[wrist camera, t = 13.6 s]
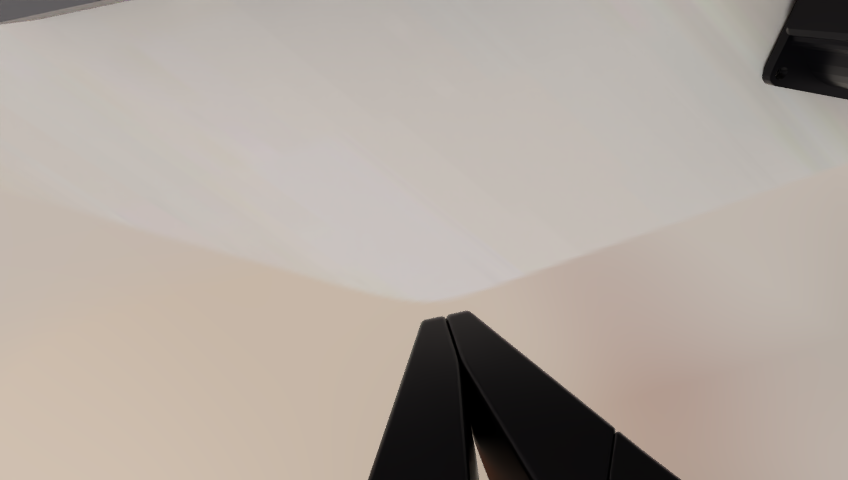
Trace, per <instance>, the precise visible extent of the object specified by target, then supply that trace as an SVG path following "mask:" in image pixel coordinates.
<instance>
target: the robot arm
mask: <svg viewBox="0 0 848 480" xmlns="http://www.w3.org/2000/svg"><path fill="white" fill-rule="evenodd" d="M778 69H780V70H779V73H778V75H777V76H776V72H777V71H778ZM762 79H763V81H764V83H766V84H769V85H774V86H779V87H784V88H789V89H795V90H800V91H805V92H811V93H816V94H821V95H827V96H832V97H837V98H842V99H848V0H797V2H796V4H795V6H794V8H793V10H792V12H791V14H790V16H789V18H788V21H787V23H786V25H785V27H784V29H783V31H782V33H781V35H780V37H779V39H778V41H777V44H776V46H775V48H774V50H773V52H772V54H771V56H770V58H769V60H768V62H767V64H766V67H765V69H764V71H763V74H762ZM472 434H473V435H472ZM473 437H474V440H473ZM474 441H475V444H476V446H477V449H478V452H479V455H480V458H481V460H482V463H483V466H484V468H485V471H486V473H487V476H488V478H489V480H681V479H679V478H678V477H677V476H675V475H674V474H673V473H671V472H670V471H669V470H668V469H666V468H665V467H664V466H662V465H661V464H659V463H658V462H657V461H656V460H654V459H653V458H652V457H651V456H649V455H648V454H647V453H645V452H644V451H642V450H641V449H640V448H639V447H638V446H636V445H635V444H634V443H633V442H631V441H630V440H629V439H628V438H626V437H625V436H624V435H623V434H622V433H620V432H616V433H615V428H614V427H613V426H611V425H610V424H609V423H608V422H606V421H605V420H604V419H603V418H602V417H600V416H599V415H598V414H596V413H595V412H594V411H593V410H592V409H590V408H589V407H588V406H586V405H585V404H584V403H583V402H582V401H580V400H579V399H578V398H577V397H575V396H574V395H573V394H572V393H571V392H569V391H568V390H567V389H565V388H564V387H563V386H562V385H560V384H559V383H558V382H557V381H556V380H554V379H553V378H552V377H551V376H549V375H548V374H547V373H545V372H544V371H543V370H542V369H541V368H539V367H538V366H537V365H536V364H534V363H533V362H532V361H531V360H530V359H528V358H527V357H526V356H525V355H523V354H522V353H521V352H520V351H518V350H517V349H516V348H514V347H513V346H512V345H511V344H510V343H508V342H507V341H506V340H505V339H503V338H502V337H501V336H500V335H499V334H497V333H496V332H495V331H493V330H492V329H491V328H490V327H489V326H487V325H486V324H485V323H484V322H482V321H481V320H480V319H479V318H477V317H476V316H475V315H474V314H472V313H471V312H469V311H463V312H459V313H454V314H450V315H448V316H447V318H446V319H445V317H436V318H432V319H427V320H424V321H423V322H422V323H421V325H420V328H419V331H418V334H417V337H416V340H415V343H414V346H413V349H412V352H411V355H410V358H409V360H408V363H407V366H406V369H405V372H404V375H403V378H402V381H401V384H400V387H399V390H398V393H397V396H396V399H395V402H394V405H393V408H392V411H391V414H390V417H389V420H388V423H387V425H386V429H385V431H384V434H383V437H382V440H381V443H380V446H379V449H378V452H377V455H376V458H375V461H374V464H373V467H372V470H371V473H370V476H369V479H368V480H479V475H478V467H477V460H476V453H475V446H474Z"/></svg>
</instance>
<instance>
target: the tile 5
mask: <svg viewBox="0 0 848 480" xmlns="http://www.w3.org/2000/svg"><path fill="white" fill-rule="evenodd" d="M124 1H129V0H0V24H7V23H15V22H23V21H31V20H38V19H43V18H48V17H52V16H57V15H62V14H67V13H72V12H76V11H81V10H86V9H91V8H96V7H100V6H105V5H110V4H115V3H119V2H124Z"/></svg>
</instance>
